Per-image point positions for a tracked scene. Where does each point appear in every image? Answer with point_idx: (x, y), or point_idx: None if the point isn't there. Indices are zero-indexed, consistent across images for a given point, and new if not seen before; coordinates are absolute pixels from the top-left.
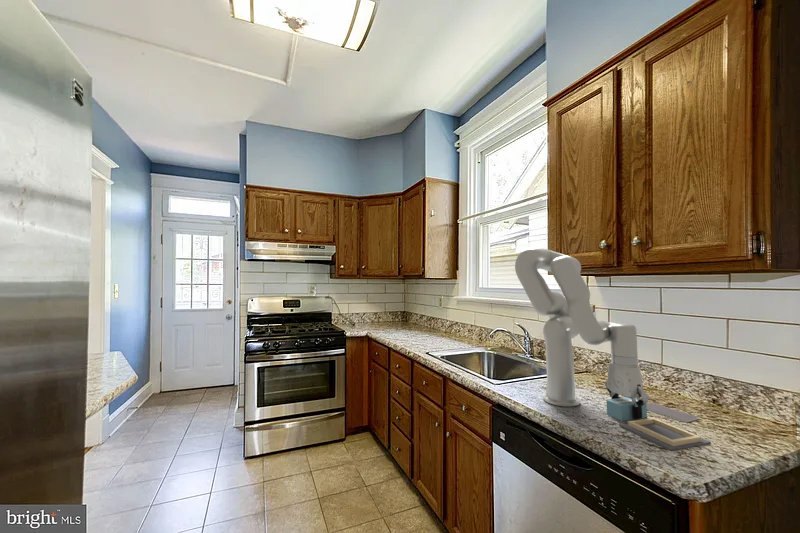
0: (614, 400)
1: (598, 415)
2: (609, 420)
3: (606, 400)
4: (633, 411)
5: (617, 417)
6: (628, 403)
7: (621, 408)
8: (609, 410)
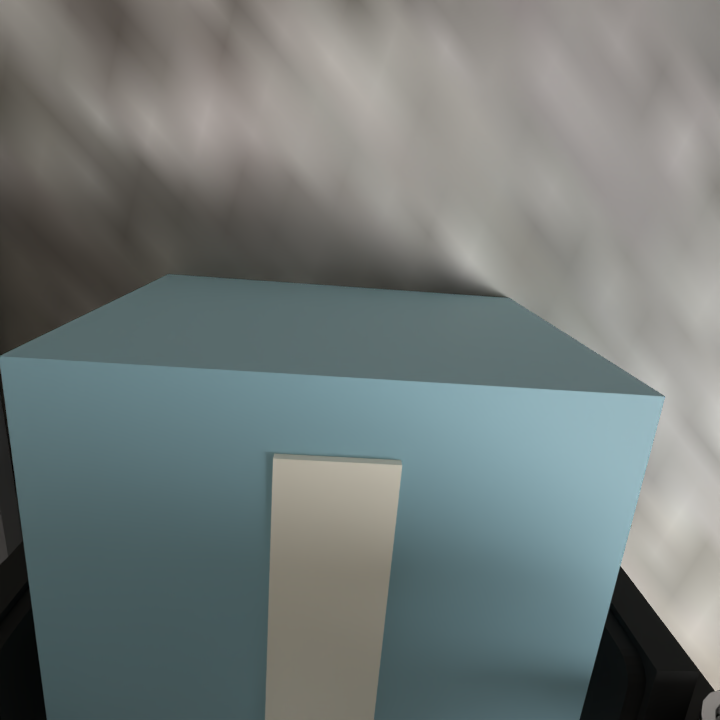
0: (501, 575)
1: (532, 73)
2: (258, 65)
3: (650, 387)
4: (18, 562)
5: (262, 286)
6: (159, 717)
7: (48, 340)
8: (466, 312)
